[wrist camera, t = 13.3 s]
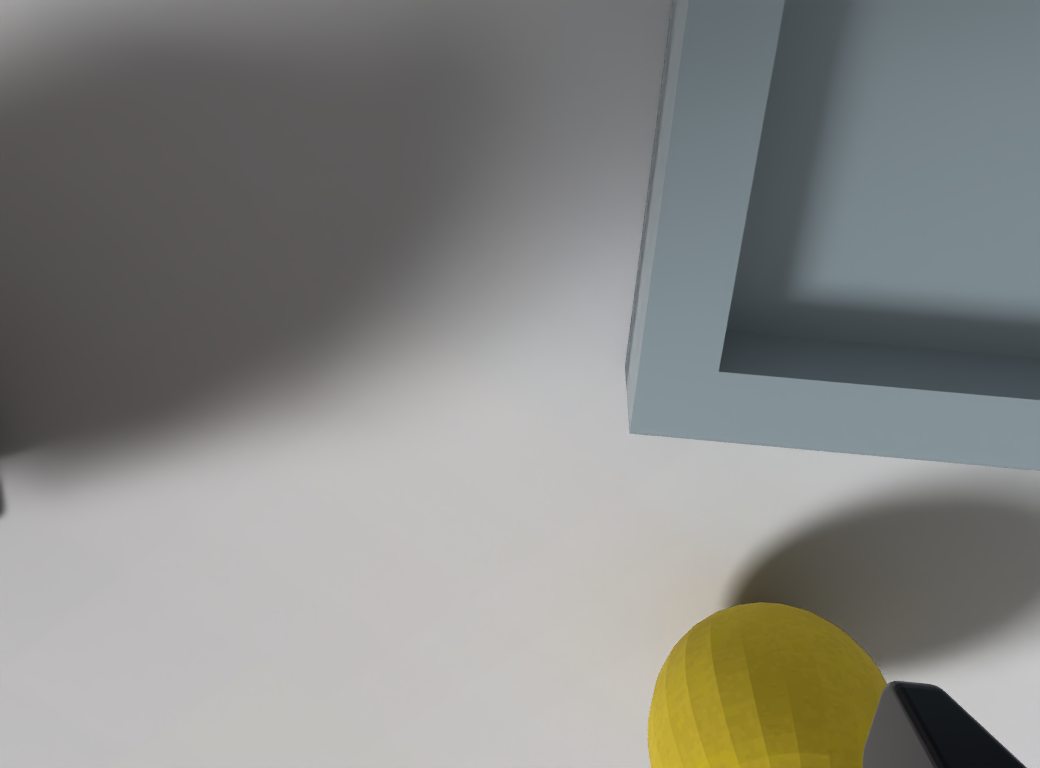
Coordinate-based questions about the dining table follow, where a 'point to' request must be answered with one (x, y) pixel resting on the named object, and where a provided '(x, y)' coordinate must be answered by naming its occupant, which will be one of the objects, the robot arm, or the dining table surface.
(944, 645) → the dining table surface
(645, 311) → the slate tray
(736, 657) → the lemon
